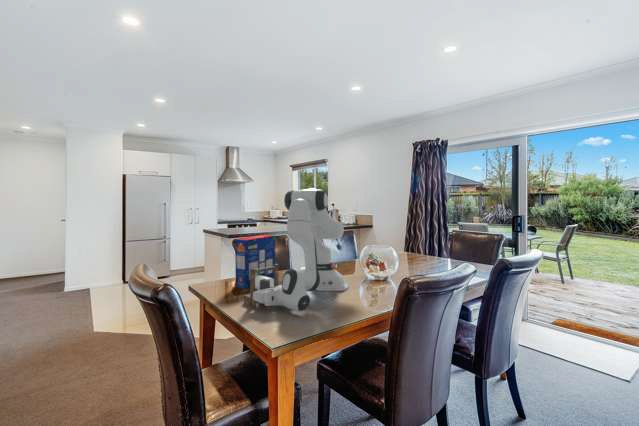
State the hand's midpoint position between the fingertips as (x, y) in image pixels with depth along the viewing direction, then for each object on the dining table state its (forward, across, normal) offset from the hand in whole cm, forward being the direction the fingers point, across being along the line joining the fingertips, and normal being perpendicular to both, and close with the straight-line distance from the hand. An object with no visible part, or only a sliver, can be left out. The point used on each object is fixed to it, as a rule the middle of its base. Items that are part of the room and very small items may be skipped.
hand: (263, 289), depth 158 cm
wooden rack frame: (+1, 0, +6) cm, 7 cm away
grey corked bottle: (-1, 0, +6) cm, 6 cm away
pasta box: (+33, -18, +7) cm, 39 cm away
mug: (+16, -14, +7) cm, 22 cm away
